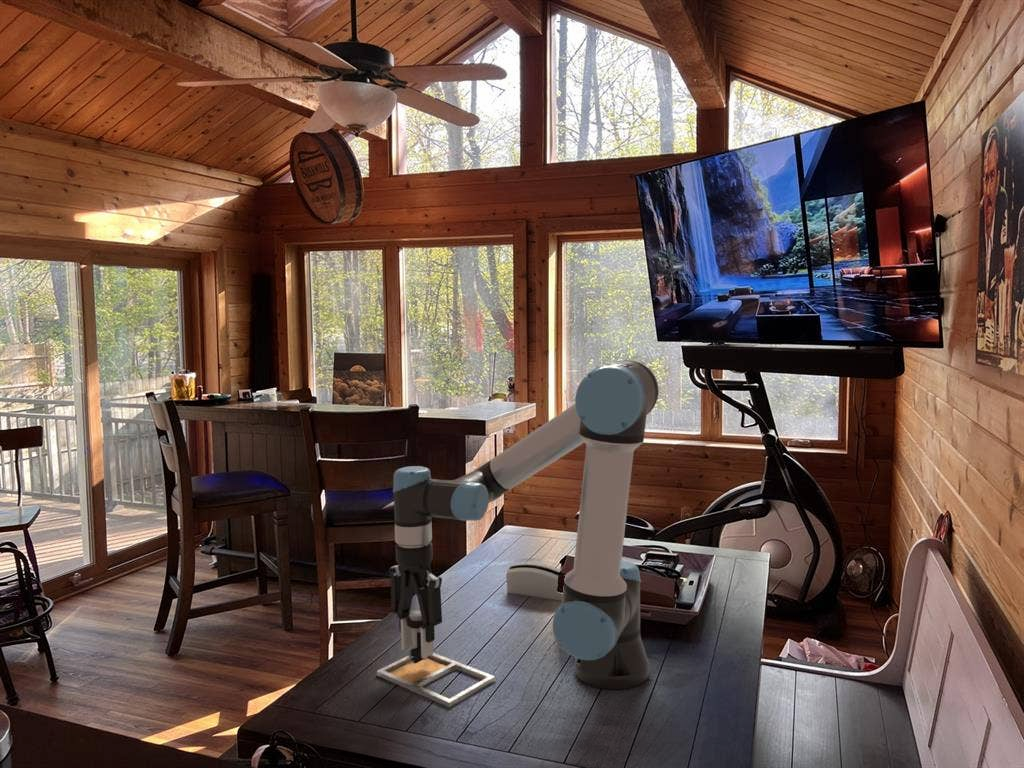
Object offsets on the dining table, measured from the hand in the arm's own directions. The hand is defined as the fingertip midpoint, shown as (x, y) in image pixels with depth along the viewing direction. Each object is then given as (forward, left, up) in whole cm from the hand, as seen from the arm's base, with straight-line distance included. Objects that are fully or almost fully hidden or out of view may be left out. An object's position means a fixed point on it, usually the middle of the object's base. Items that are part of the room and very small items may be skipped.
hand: (417, 651), depth 159 cm
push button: (0, 0, -2) cm, 2 cm away
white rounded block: (+6, -48, -5) cm, 49 cm away
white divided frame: (-5, 0, -4) cm, 7 cm away
